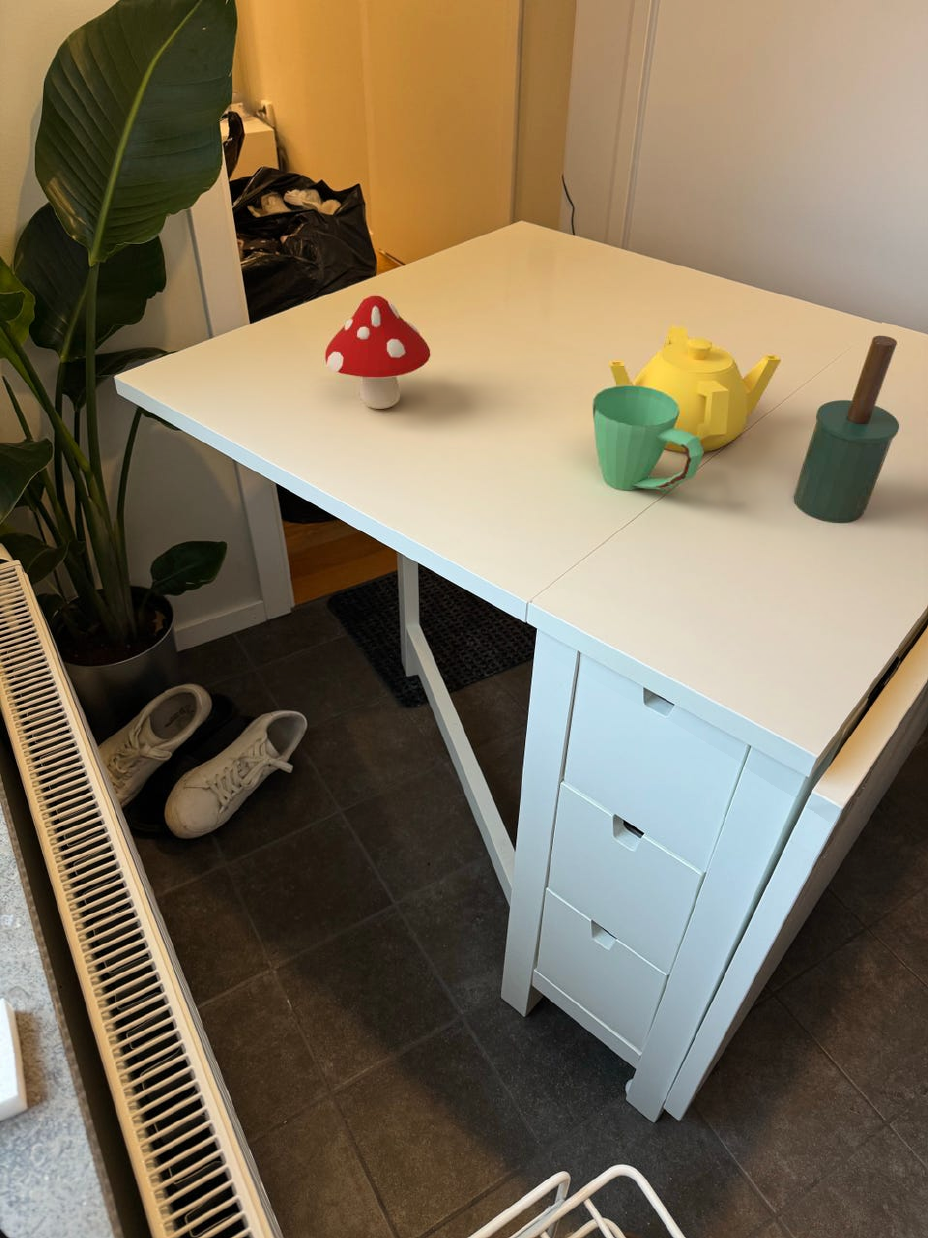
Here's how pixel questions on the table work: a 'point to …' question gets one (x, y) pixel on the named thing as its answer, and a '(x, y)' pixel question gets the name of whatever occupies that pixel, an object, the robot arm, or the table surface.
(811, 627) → the table surface
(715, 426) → the teapot
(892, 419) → the ring toss peg stand
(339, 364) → the decorative mushroom
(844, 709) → the table surface
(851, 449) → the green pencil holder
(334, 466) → the table surface
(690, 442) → the mug
